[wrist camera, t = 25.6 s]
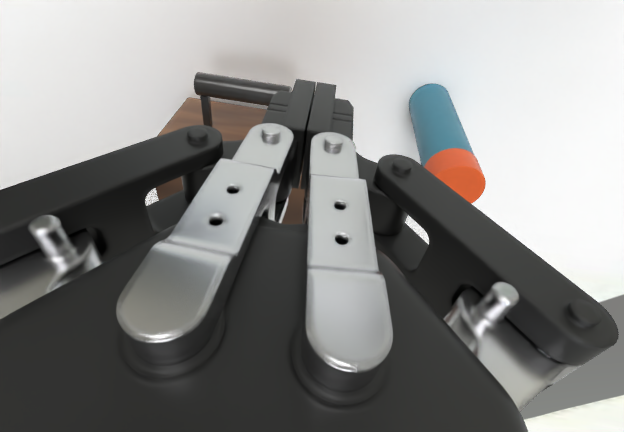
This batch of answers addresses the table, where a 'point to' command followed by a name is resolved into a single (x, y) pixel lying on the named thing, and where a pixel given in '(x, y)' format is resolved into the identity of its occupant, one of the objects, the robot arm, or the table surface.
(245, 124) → the drawer
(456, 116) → the glue stick
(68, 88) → the table surface
